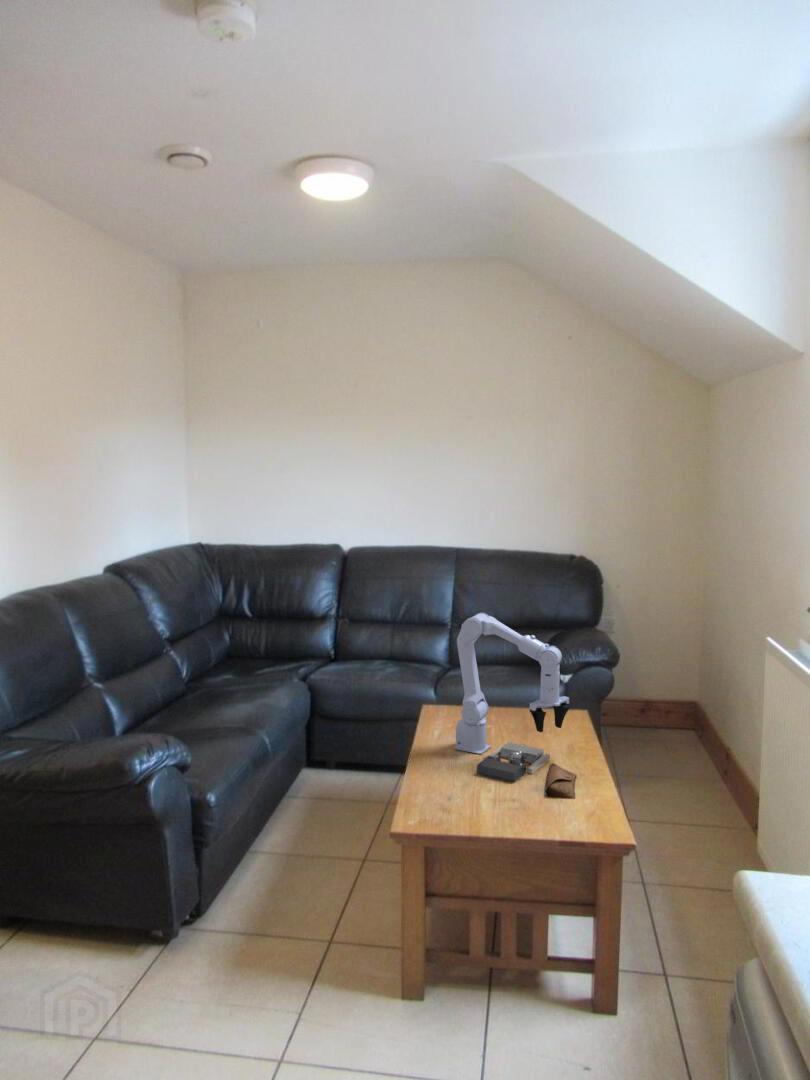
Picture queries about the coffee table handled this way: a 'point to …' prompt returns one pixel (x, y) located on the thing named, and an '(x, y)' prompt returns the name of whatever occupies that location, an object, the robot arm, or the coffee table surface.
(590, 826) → the coffee table surface
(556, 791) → the sunglasses case
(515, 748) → the grey piece
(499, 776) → the fixed leaf
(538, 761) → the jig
